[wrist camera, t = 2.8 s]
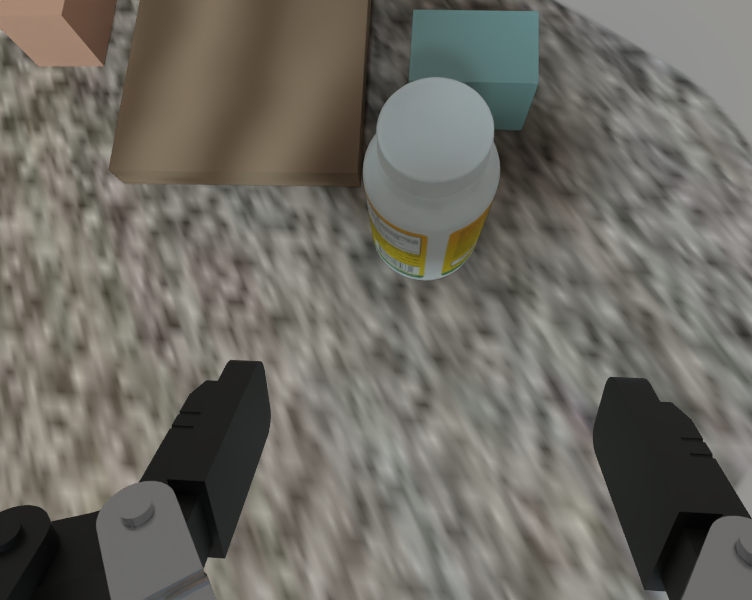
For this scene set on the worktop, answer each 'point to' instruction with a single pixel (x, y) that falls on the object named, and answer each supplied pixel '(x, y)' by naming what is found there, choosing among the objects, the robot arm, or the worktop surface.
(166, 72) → the walnut board
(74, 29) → the terracotta block
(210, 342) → the worktop surface
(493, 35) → the teal block
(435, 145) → the supplement bottle
